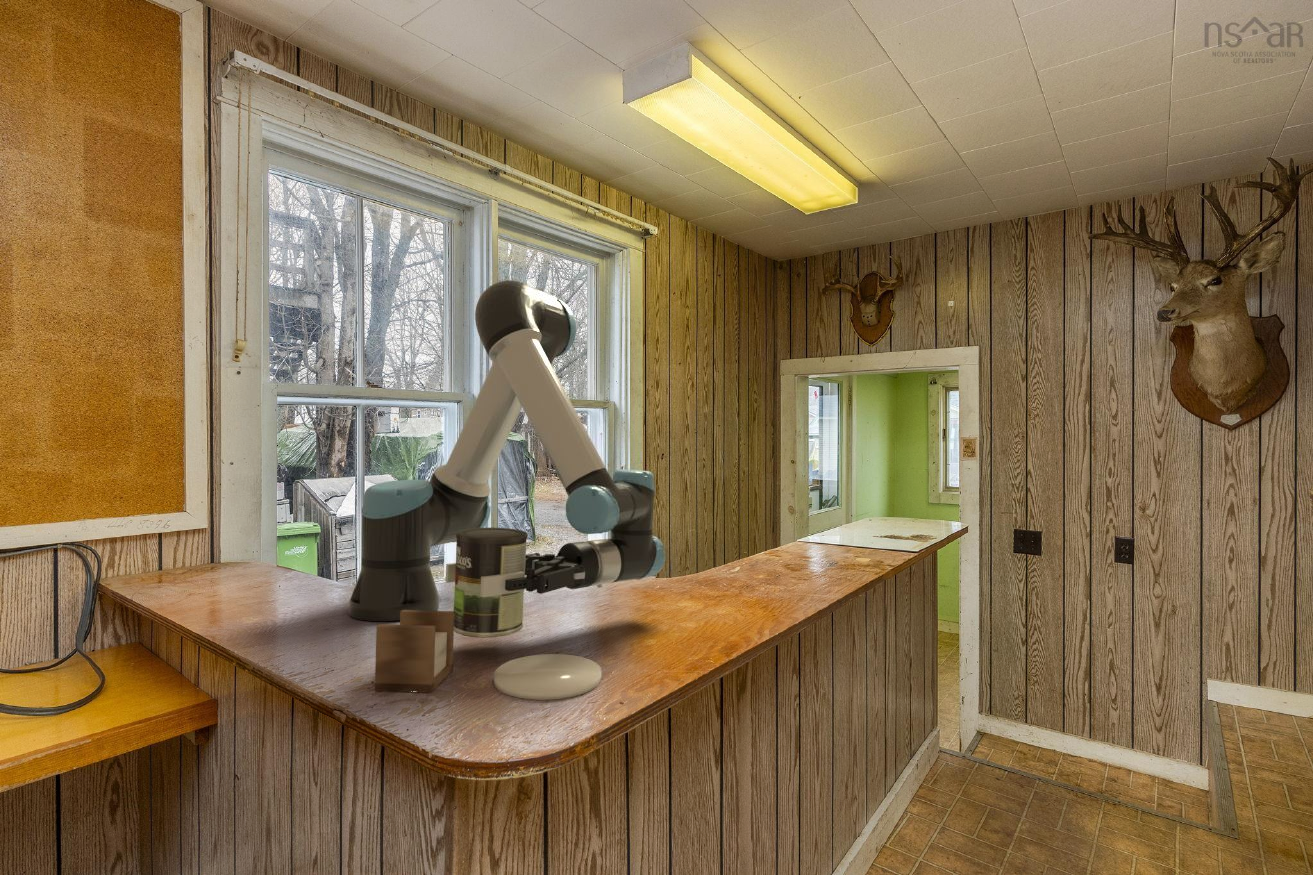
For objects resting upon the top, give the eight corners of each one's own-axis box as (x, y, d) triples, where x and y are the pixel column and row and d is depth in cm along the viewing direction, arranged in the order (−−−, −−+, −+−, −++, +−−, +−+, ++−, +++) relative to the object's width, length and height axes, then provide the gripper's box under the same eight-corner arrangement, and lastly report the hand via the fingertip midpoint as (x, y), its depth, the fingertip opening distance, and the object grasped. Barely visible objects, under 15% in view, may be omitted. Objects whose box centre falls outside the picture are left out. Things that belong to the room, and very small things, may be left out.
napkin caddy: (374, 690, 80) (376, 626, 80) (401, 668, 88) (403, 609, 88) (430, 692, 80) (432, 628, 80) (452, 670, 88) (454, 611, 88)
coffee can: (460, 641, 89) (465, 539, 89) (445, 621, 98) (449, 528, 98) (533, 633, 94) (537, 536, 94) (512, 614, 103) (515, 526, 103)
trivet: (480, 697, 79) (480, 689, 79) (509, 659, 93) (509, 652, 93) (594, 701, 79) (595, 693, 79) (606, 662, 93) (606, 655, 93)
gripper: (630, 600, 100) (503, 624, 85) (547, 574, 117) (428, 590, 101) (632, 552, 100) (505, 567, 85) (549, 532, 117) (430, 542, 101)
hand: (463, 579), depth 93 cm, fingers closed on coffee can, 10 cm apart
